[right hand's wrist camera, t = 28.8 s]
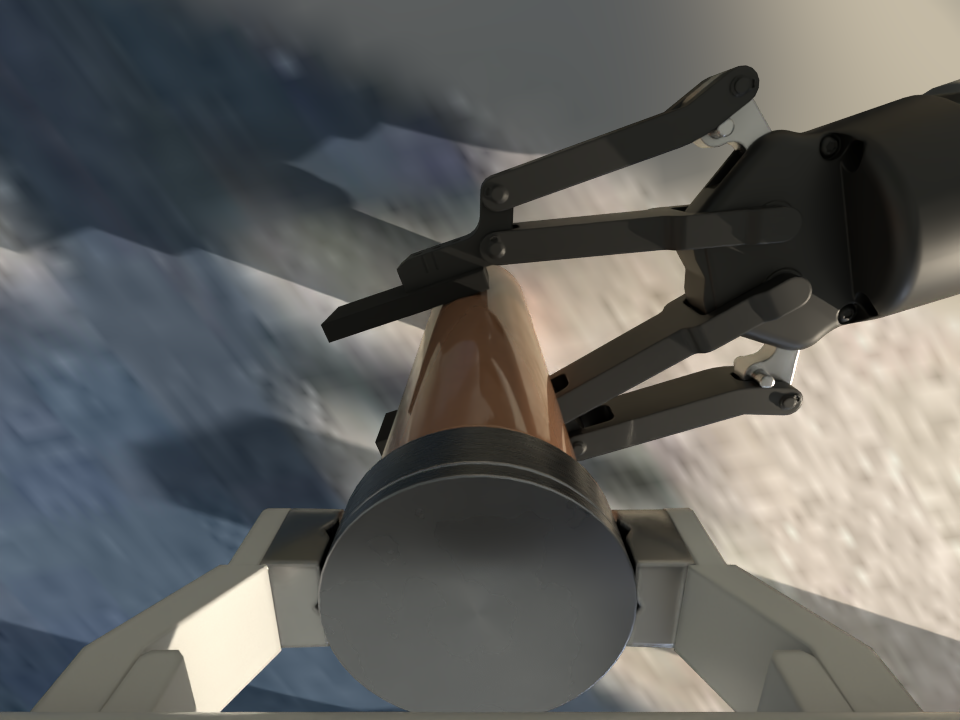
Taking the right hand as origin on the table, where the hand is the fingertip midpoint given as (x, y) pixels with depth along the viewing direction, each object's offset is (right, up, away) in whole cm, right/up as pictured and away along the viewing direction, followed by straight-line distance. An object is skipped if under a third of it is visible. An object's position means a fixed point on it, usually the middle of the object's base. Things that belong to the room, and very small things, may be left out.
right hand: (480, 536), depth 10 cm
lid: (0, -1, -1) cm, 2 cm away
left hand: (-5, +3, +12) cm, 13 cm away
